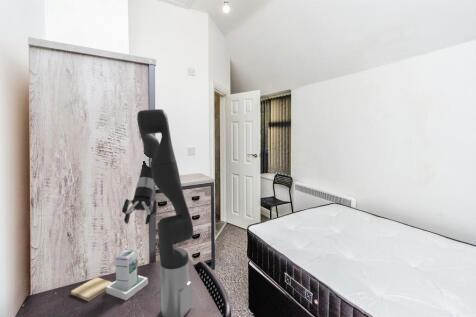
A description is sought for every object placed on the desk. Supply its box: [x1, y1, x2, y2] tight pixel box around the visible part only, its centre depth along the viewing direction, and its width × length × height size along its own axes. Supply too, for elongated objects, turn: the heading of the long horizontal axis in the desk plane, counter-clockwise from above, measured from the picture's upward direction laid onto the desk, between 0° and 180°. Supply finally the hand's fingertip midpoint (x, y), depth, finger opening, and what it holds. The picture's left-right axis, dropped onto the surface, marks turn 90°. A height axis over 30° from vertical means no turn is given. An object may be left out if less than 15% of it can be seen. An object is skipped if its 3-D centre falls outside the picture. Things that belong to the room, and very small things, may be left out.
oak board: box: [70, 276, 114, 302], centre depth 89 cm, size 10×10×1 cm
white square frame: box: [105, 274, 149, 301], centre depth 90 cm, size 11×11×2 cm
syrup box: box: [114, 249, 139, 292], centre depth 89 cm, size 6×6×14 cm
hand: (136, 223), depth 98 cm, fingers open, 8 cm apart
